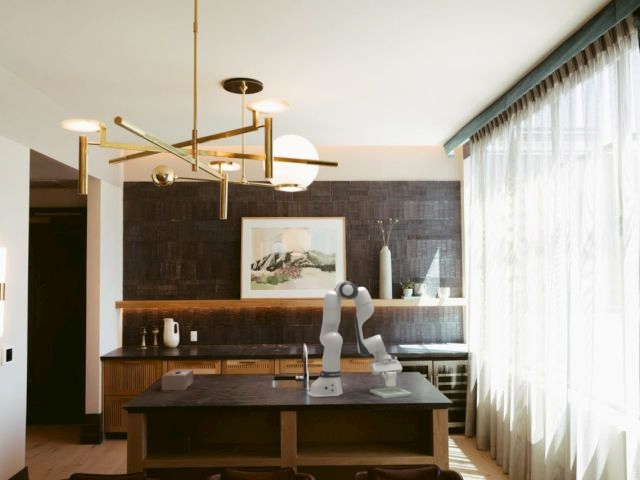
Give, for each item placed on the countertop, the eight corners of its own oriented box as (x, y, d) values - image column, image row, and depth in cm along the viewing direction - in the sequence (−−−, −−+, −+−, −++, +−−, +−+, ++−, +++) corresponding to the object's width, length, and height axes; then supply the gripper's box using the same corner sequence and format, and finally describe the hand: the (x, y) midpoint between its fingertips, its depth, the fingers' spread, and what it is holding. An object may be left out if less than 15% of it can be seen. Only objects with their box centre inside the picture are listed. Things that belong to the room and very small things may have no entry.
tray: (385, 398, 354) (385, 395, 355) (370, 392, 373) (370, 389, 373) (411, 396, 361) (411, 392, 361) (395, 390, 380) (395, 387, 380)
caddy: (389, 386, 364) (389, 373, 364) (385, 385, 368) (385, 372, 369) (396, 386, 365) (396, 373, 366) (392, 384, 370) (392, 371, 371)
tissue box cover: (183, 391, 384) (184, 375, 385) (161, 391, 384) (161, 376, 385) (193, 384, 410) (193, 369, 411) (172, 384, 410) (172, 369, 411)
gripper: (370, 358, 371) (377, 376, 361) (398, 356, 379) (406, 374, 369) (366, 365, 375) (374, 383, 365) (395, 362, 383) (403, 380, 373)
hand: (391, 378), depth 367 cm, fingers closed on caddy, 5 cm apart
